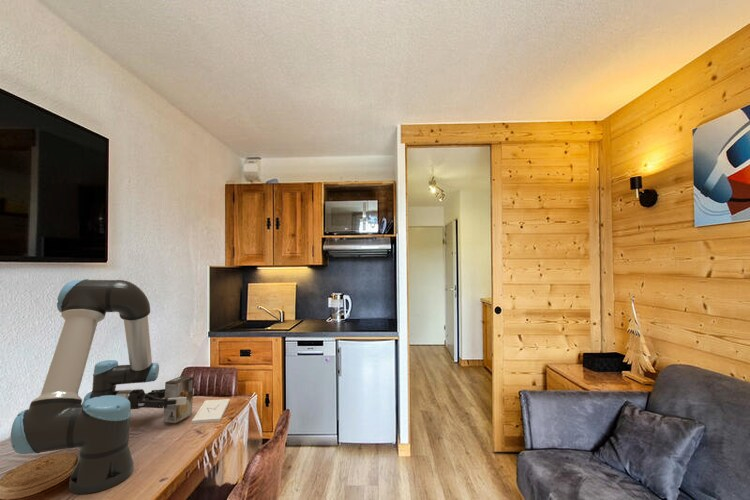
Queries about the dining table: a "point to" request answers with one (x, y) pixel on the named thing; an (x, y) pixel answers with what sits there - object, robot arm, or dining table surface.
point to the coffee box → (174, 390)
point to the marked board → (211, 411)
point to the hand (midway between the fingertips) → (189, 395)
